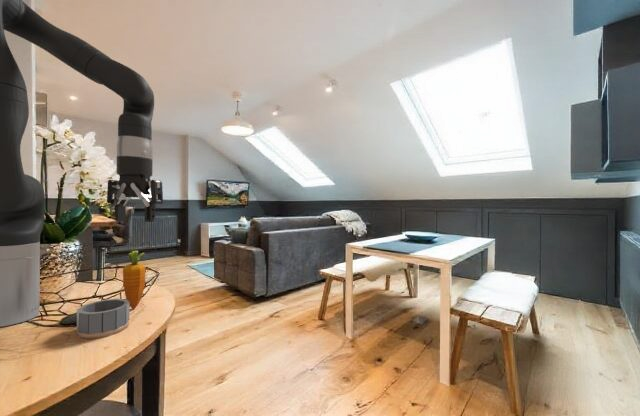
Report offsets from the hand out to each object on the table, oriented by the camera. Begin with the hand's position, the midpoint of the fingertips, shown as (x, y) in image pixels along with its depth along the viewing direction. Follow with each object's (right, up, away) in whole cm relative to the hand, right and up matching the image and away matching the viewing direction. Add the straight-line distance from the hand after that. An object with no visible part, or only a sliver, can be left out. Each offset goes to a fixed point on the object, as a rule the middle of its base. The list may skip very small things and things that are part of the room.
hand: (134, 221), depth 70 cm
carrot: (0, -22, 0) cm, 22 cm away
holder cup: (+1, -22, -11) cm, 25 cm away
